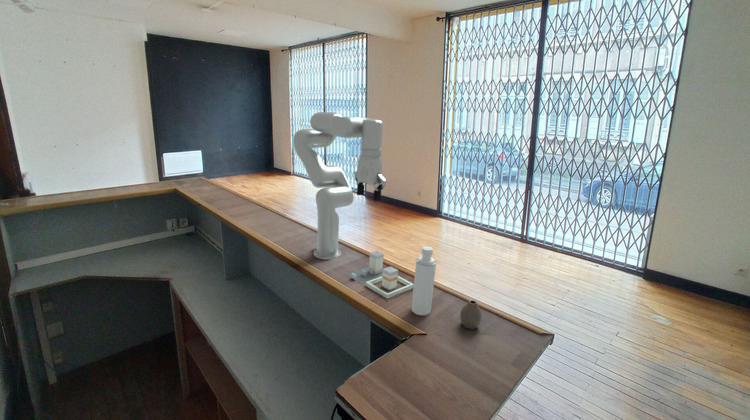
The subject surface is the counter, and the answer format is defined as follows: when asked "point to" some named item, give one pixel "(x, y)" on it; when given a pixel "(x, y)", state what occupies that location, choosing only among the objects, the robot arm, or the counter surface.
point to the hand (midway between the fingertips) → (368, 197)
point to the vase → (471, 315)
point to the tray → (393, 293)
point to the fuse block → (364, 275)
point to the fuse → (376, 262)
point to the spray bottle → (424, 282)
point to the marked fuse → (389, 278)
